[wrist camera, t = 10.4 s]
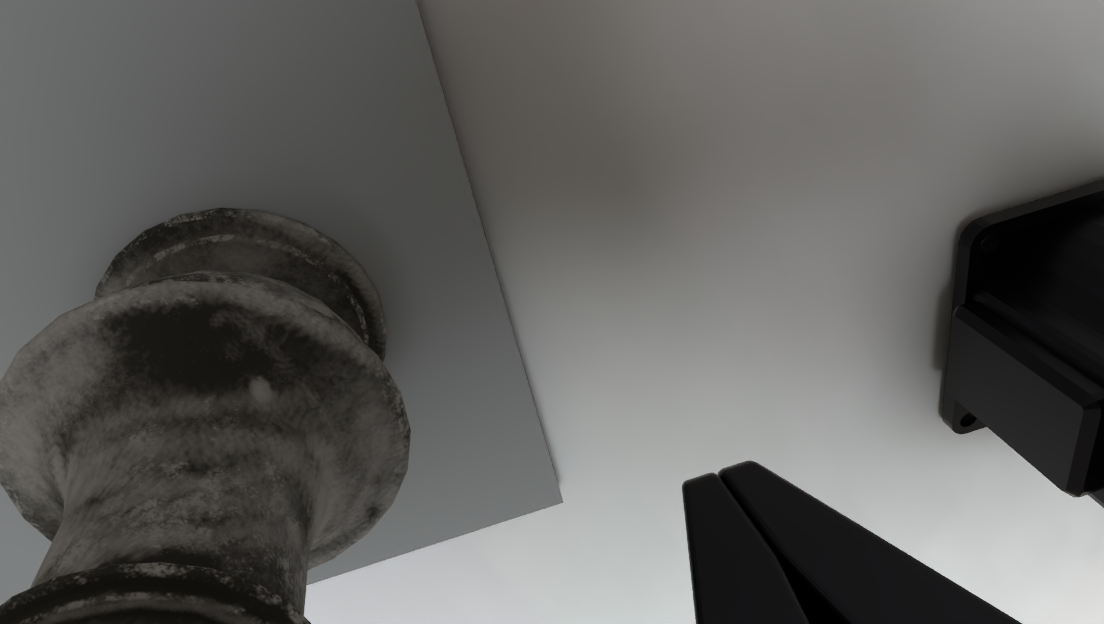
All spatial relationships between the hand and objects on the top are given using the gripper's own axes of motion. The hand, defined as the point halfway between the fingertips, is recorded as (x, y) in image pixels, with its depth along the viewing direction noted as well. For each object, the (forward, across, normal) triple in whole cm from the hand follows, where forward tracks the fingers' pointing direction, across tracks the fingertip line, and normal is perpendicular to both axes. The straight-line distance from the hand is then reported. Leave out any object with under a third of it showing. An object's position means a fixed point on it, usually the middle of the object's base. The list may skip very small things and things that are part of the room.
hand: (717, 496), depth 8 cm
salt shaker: (+8, +6, 0) cm, 10 cm away
